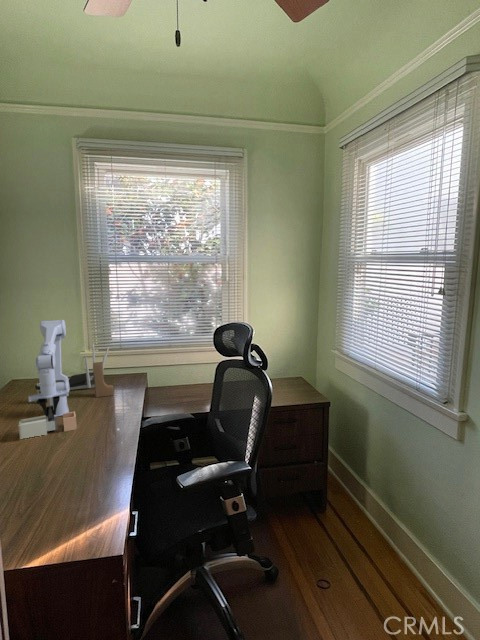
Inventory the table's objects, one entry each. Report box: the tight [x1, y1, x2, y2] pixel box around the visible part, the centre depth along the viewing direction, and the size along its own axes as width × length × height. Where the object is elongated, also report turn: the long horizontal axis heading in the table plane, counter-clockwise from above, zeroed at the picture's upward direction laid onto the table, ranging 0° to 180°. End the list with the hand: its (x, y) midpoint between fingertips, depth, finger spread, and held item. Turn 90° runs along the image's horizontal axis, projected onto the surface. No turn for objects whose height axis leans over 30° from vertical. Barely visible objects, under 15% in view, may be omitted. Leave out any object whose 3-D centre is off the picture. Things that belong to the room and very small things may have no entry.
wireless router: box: [68, 343, 110, 391], centre depth 210 cm, size 34×23×20 cm
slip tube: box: [25, 405, 58, 432], centre depth 148 cm, size 4×12×10 cm, turn 118°
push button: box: [34, 382, 49, 404], centre depth 182 cm, size 7×5×10 cm
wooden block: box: [92, 361, 114, 398], centre depth 190 cm, size 9×4×18 cm, turn 111°
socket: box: [62, 411, 78, 432], centre depth 153 cm, size 6×5×6 cm
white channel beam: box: [18, 415, 48, 440], centre depth 147 cm, size 6×10×6 cm, turn 118°
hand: (50, 414), depth 149 cm, fingers closed on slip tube, 2 cm apart
